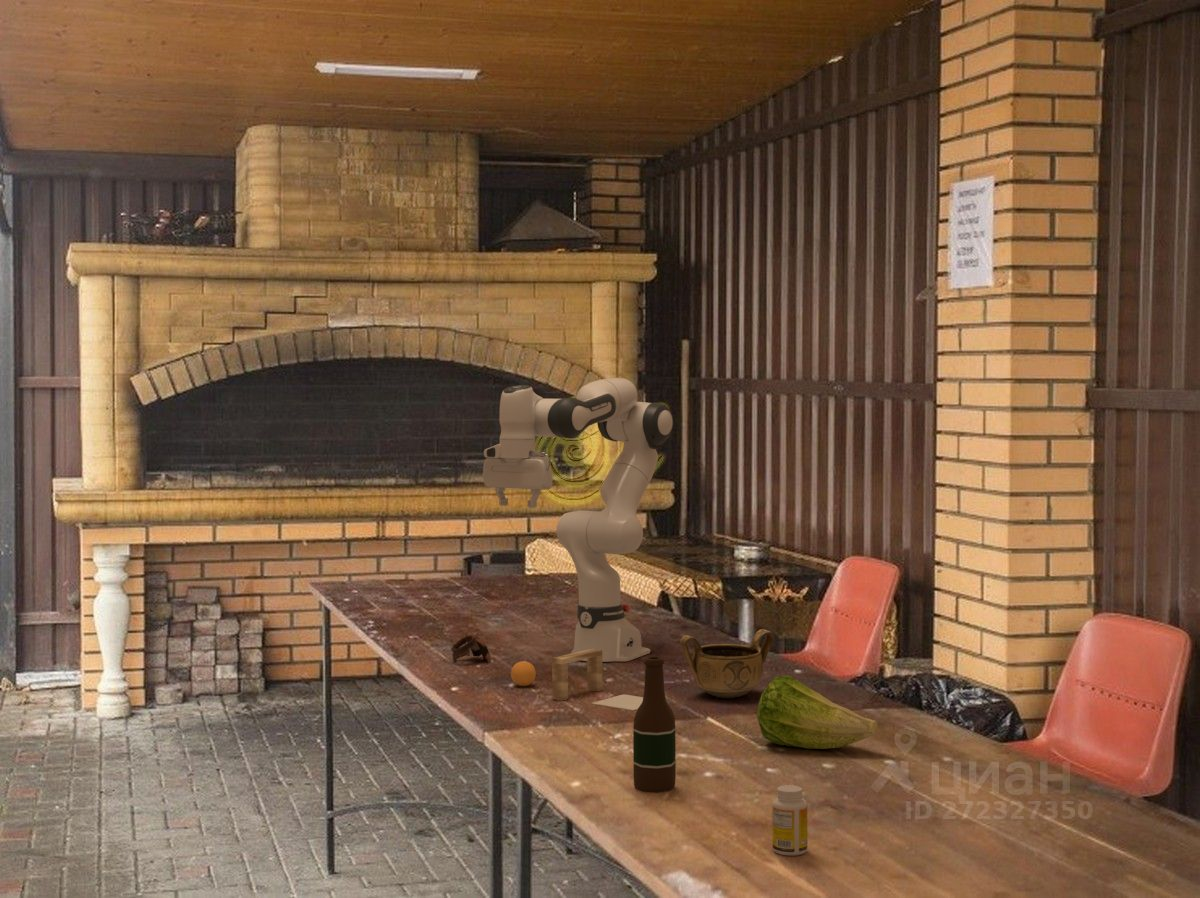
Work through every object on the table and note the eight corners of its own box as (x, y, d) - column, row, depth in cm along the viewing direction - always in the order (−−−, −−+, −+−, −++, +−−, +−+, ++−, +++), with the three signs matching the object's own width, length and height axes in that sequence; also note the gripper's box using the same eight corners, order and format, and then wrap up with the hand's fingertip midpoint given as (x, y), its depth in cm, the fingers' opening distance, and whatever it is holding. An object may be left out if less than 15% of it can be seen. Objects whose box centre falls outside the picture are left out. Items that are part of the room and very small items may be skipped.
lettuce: (889, 752, 320) (860, 775, 308) (780, 729, 333) (747, 750, 320) (892, 683, 318) (863, 704, 305) (782, 663, 330) (749, 681, 318)
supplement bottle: (801, 845, 255) (801, 782, 254) (812, 855, 249) (812, 791, 249) (767, 847, 254) (767, 784, 253) (777, 858, 248) (777, 793, 248)
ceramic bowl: (757, 686, 382) (757, 624, 381) (786, 700, 365) (786, 635, 365) (670, 692, 375) (670, 629, 375) (695, 706, 359) (695, 641, 358)
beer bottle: (631, 782, 294) (630, 654, 293) (672, 781, 295) (672, 653, 294) (635, 793, 286) (635, 662, 285) (678, 792, 287) (678, 661, 286)
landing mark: (623, 695, 372) (623, 694, 372) (664, 701, 364) (664, 700, 364) (591, 703, 362) (591, 703, 362) (633, 710, 355) (633, 709, 355)
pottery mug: (491, 667, 410) (475, 641, 408) (460, 682, 412) (444, 656, 410) (497, 647, 421) (482, 622, 419) (466, 662, 423) (451, 637, 421)
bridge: (552, 699, 368) (552, 657, 367) (592, 688, 380) (592, 648, 379) (562, 700, 366) (562, 659, 365) (602, 690, 378) (602, 649, 377)
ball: (522, 682, 387) (522, 658, 387) (540, 685, 384) (540, 660, 383) (506, 686, 383) (505, 661, 382) (524, 689, 379) (524, 664, 379)
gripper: (557, 451, 388) (558, 507, 388) (495, 449, 400) (496, 503, 401) (541, 452, 383) (541, 509, 383) (478, 450, 395) (479, 505, 396)
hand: (517, 506), depth 392 cm, fingers open, 8 cm apart
